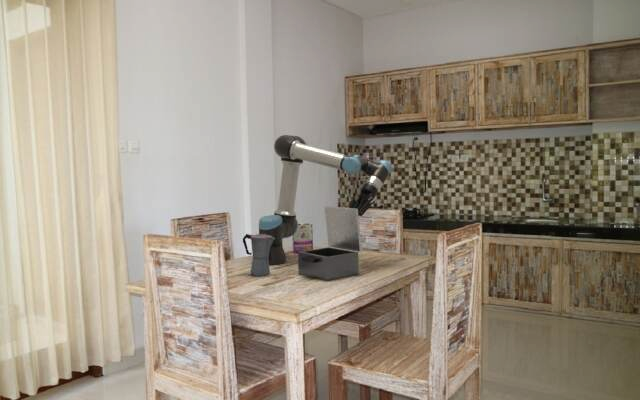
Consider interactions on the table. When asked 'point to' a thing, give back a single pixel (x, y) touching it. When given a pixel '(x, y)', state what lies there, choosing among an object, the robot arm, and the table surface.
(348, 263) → the dark grey storage box
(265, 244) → the moka pot
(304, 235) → the candy bar box
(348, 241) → the grey box lid
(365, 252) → the table surface
